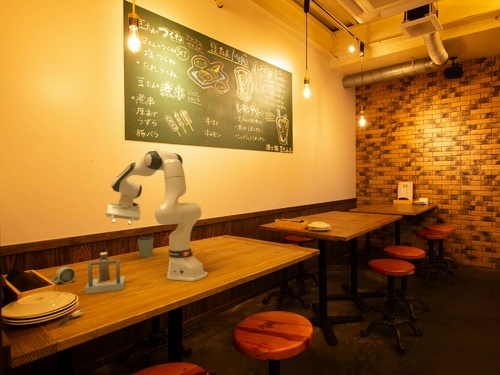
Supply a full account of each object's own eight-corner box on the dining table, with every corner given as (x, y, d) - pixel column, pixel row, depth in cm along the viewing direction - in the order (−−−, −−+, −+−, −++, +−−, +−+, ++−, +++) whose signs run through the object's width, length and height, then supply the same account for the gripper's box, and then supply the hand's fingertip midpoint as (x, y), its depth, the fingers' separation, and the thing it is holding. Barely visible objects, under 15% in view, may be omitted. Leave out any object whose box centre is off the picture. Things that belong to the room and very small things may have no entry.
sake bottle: (111, 278, 166) (110, 252, 165) (103, 281, 161) (102, 254, 161) (105, 277, 168) (104, 251, 168) (97, 280, 164) (96, 253, 163)
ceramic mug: (70, 278, 168) (69, 264, 168) (76, 281, 163) (75, 266, 162) (47, 283, 160) (46, 268, 160) (52, 287, 155) (51, 271, 154)
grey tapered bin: (148, 258, 208) (148, 240, 208) (135, 257, 210) (134, 239, 210) (156, 254, 218) (155, 237, 218) (143, 254, 220) (142, 237, 220)
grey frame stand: (90, 285, 156) (89, 257, 155) (125, 281, 160) (124, 254, 160) (85, 293, 144) (84, 263, 144) (122, 289, 149) (121, 260, 148)
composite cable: (60, 327, 112) (60, 320, 112) (52, 325, 114) (51, 318, 114) (85, 316, 121) (84, 309, 121) (76, 314, 123) (76, 307, 123)
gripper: (108, 200, 198) (103, 218, 189) (142, 205, 204) (138, 222, 196) (108, 206, 202) (103, 224, 194) (141, 210, 209) (137, 228, 200)
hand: (121, 223), depth 195 cm, fingers open, 8 cm apart
